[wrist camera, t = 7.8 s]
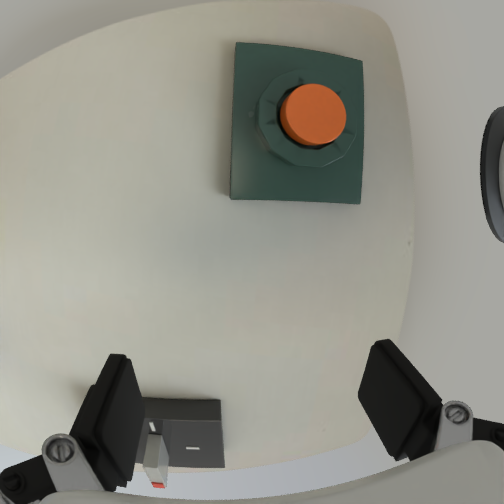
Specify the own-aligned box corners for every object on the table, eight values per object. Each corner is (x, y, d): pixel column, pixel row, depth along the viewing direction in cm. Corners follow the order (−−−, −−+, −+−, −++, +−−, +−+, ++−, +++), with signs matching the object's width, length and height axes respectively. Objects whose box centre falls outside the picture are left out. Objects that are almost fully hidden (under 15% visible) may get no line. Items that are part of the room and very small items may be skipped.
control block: (356, 64, 19) (373, 54, 16) (353, 202, 22) (371, 208, 19) (235, 47, 18) (237, 31, 15) (229, 197, 21) (231, 202, 18)
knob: (148, 433, 24) (142, 468, 19) (162, 434, 24) (157, 470, 19) (156, 455, 25) (152, 487, 20) (169, 456, 25) (166, 489, 21)
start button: (336, 94, 17) (346, 88, 16) (335, 148, 18) (345, 147, 17) (280, 86, 17) (286, 79, 15) (279, 143, 18) (284, 140, 16)
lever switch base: (220, 399, 27) (221, 421, 24) (223, 449, 30) (225, 468, 27) (94, 391, 25) (86, 410, 22) (117, 442, 28) (113, 460, 25)
